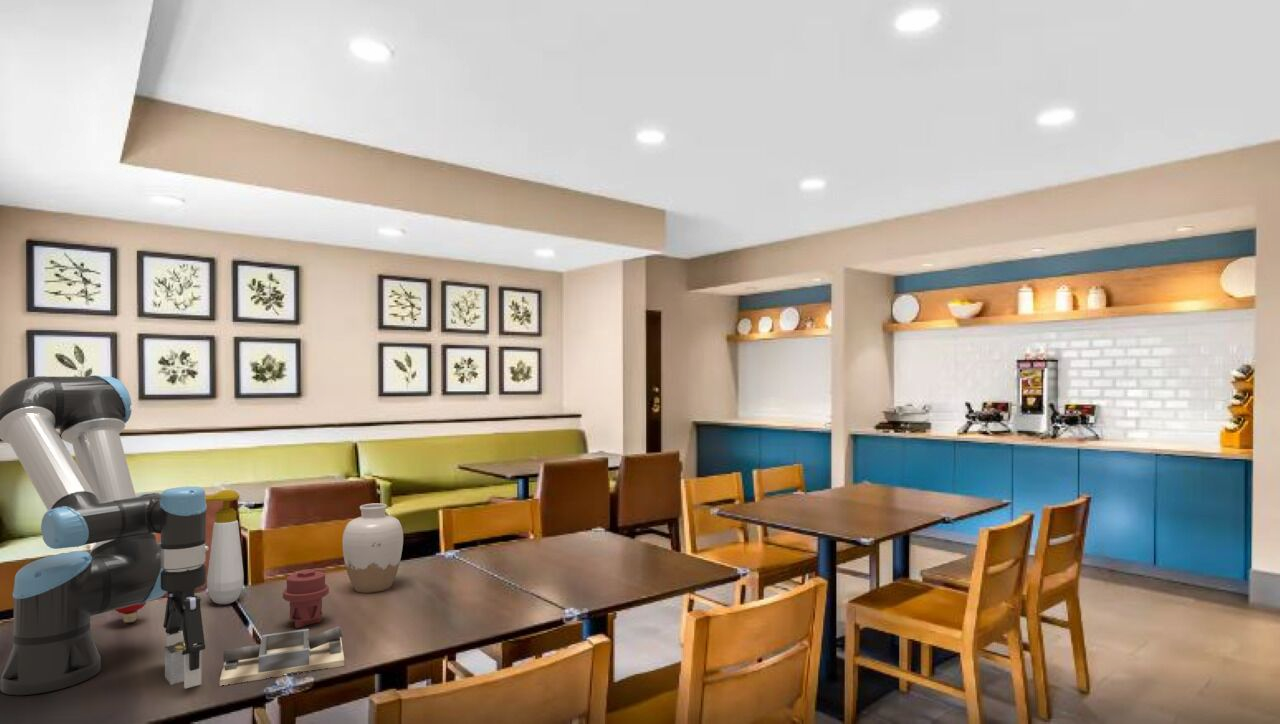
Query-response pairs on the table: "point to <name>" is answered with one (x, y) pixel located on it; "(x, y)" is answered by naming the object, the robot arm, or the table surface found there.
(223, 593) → the soap bottle
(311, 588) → the mechanical component
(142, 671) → the table surface
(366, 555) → the vase
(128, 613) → the red mushroom
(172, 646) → the block
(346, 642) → the table surface
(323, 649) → the shaft bench
